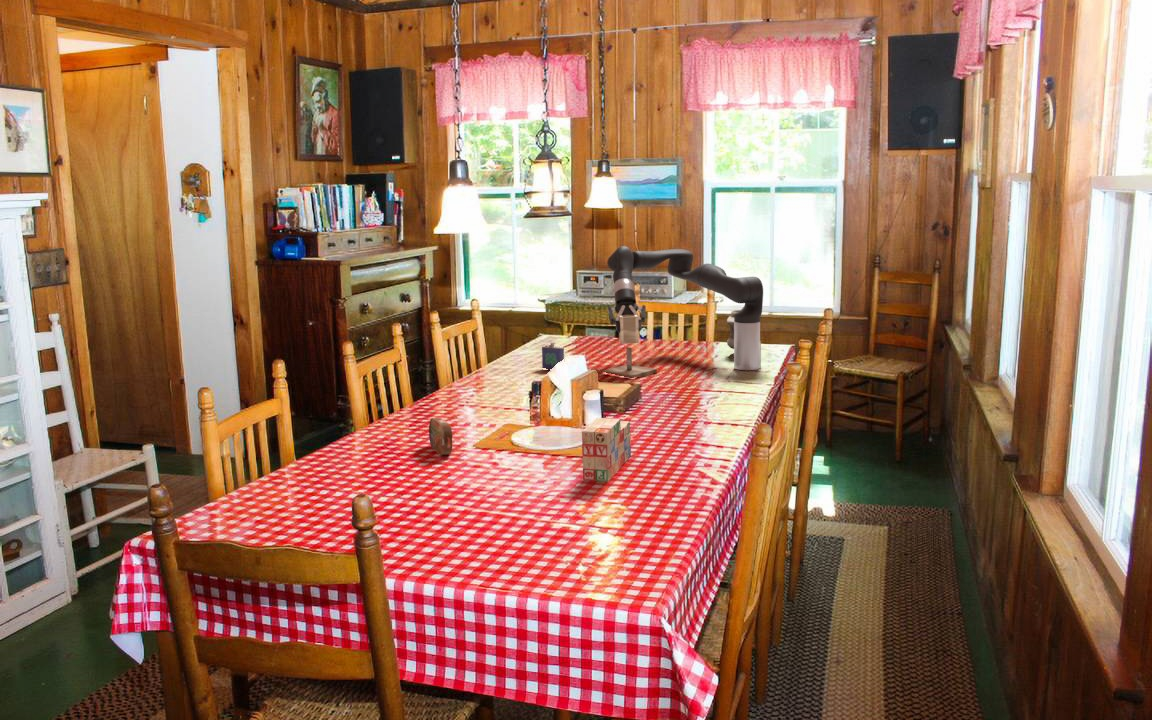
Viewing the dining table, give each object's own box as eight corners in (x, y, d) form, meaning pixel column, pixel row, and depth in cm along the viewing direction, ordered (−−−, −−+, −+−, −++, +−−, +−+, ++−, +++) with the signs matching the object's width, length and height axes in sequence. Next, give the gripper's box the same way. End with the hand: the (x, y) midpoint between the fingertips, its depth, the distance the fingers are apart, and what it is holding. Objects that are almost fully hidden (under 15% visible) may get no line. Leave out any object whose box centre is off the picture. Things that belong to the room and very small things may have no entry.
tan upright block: (619, 341, 337) (618, 315, 335) (636, 340, 338) (636, 314, 336) (620, 343, 333) (620, 317, 331) (638, 343, 333) (638, 316, 331)
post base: (627, 368, 347) (627, 343, 345) (656, 373, 337) (656, 347, 335) (602, 374, 337) (601, 348, 335) (631, 379, 327) (631, 353, 326)
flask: (565, 370, 346) (564, 342, 344) (561, 372, 344) (560, 343, 342) (544, 369, 351) (543, 340, 349) (540, 370, 348) (539, 342, 346)
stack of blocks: (607, 454, 240) (606, 408, 238) (631, 456, 238) (630, 409, 236) (582, 480, 220) (581, 430, 218) (608, 482, 218) (607, 431, 216)
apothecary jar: (735, 352, 372) (735, 307, 368) (763, 355, 365) (764, 309, 361) (721, 357, 362) (721, 311, 359) (750, 360, 355) (750, 313, 352)
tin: (428, 445, 254) (426, 415, 252) (439, 443, 255) (438, 413, 253) (443, 459, 240) (441, 427, 239) (455, 457, 241) (453, 426, 240)
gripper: (643, 299, 345) (648, 336, 336) (604, 300, 344) (608, 338, 335) (645, 286, 339) (650, 324, 330) (605, 288, 338) (609, 325, 329)
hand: (629, 331), depth 333 cm, fingers closed on tan upright block, 6 cm apart
